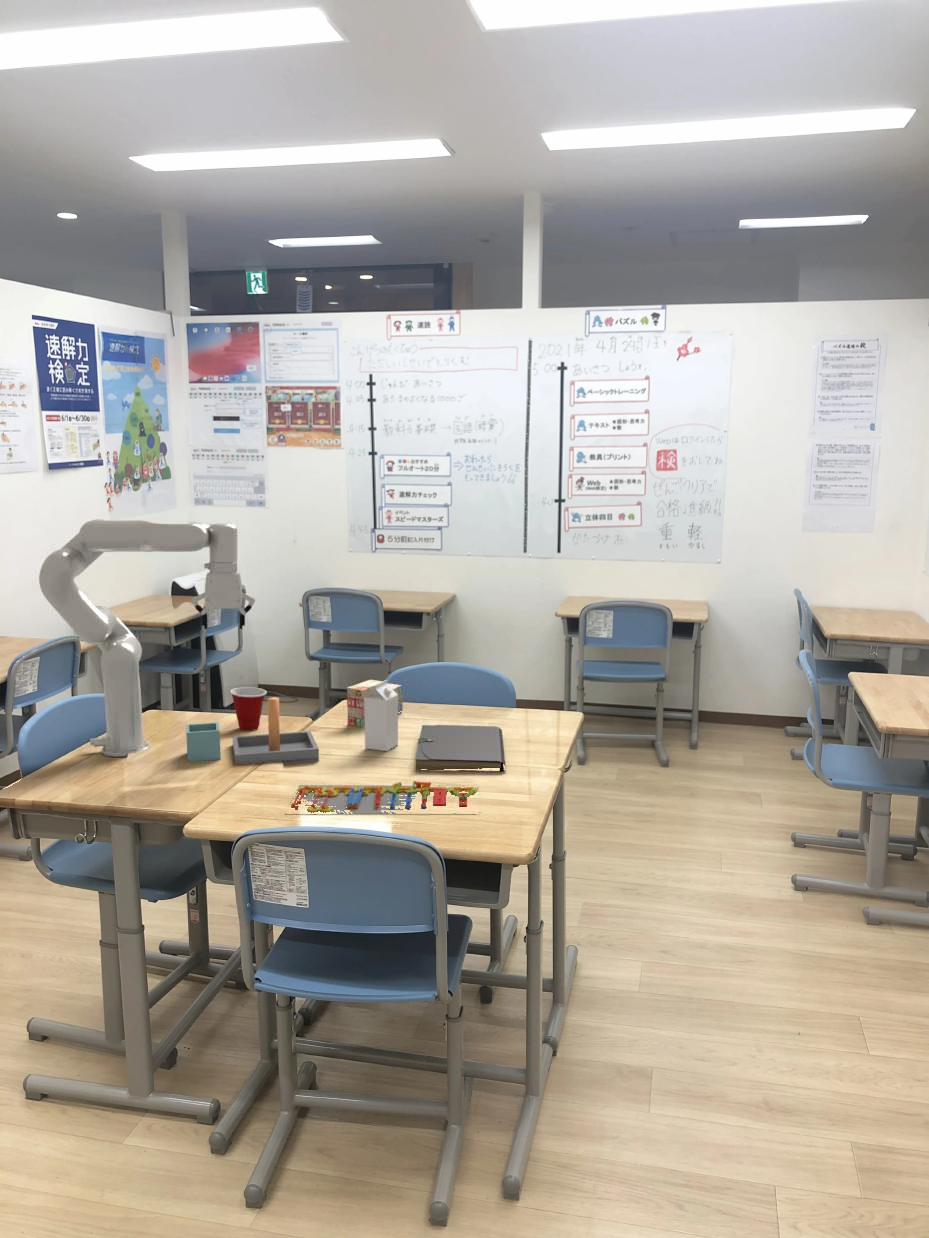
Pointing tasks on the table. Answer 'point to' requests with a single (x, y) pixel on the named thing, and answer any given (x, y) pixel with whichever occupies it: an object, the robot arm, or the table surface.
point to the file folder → (459, 747)
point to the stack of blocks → (357, 700)
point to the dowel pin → (273, 724)
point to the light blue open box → (203, 742)
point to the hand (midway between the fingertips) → (223, 628)
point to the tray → (291, 751)
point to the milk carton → (381, 718)
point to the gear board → (374, 797)
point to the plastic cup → (248, 706)
